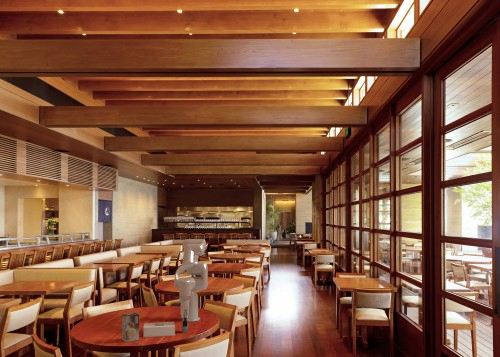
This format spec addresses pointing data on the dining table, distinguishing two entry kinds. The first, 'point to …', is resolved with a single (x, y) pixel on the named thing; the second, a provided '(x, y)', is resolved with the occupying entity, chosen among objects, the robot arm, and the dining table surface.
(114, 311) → the dining table surface
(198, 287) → the robot arm
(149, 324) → the socket block
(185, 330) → the marker peg
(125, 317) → the coffee box
